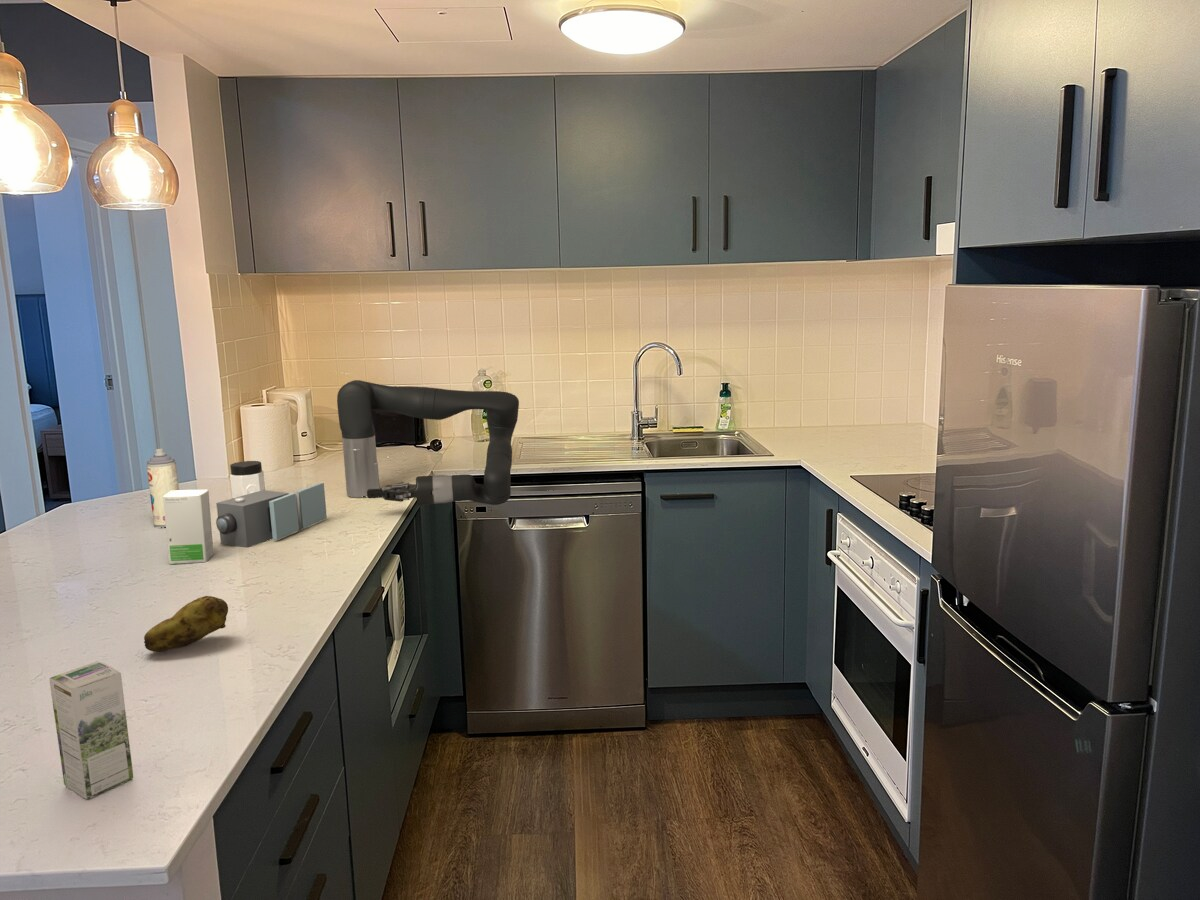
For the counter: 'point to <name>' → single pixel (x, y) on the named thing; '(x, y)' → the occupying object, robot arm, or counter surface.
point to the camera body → (246, 518)
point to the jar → (246, 478)
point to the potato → (188, 624)
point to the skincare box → (188, 526)
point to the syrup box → (91, 729)
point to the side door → (297, 510)
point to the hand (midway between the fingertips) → (367, 493)
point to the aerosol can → (161, 483)
